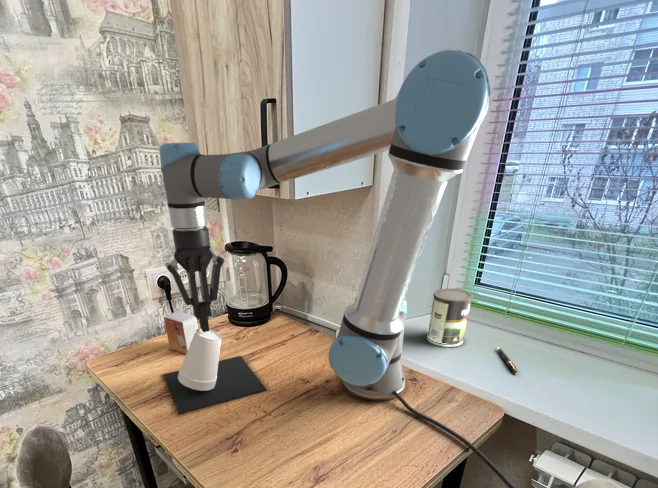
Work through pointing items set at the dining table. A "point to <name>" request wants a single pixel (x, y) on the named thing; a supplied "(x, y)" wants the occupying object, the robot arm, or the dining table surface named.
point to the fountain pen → (508, 361)
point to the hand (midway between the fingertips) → (204, 329)
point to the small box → (180, 330)
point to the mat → (216, 386)
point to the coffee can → (449, 317)
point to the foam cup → (201, 361)
